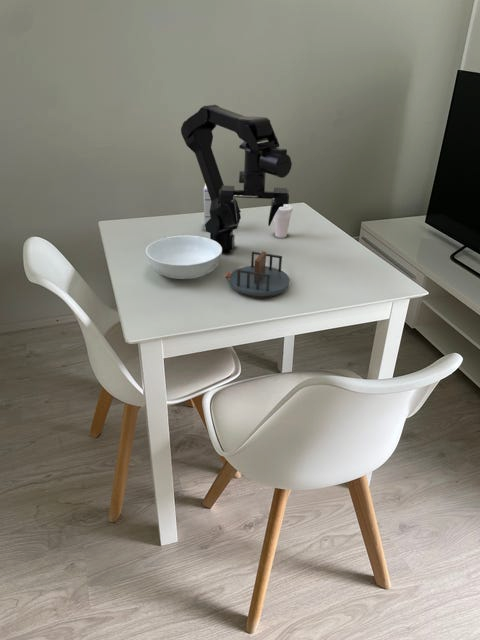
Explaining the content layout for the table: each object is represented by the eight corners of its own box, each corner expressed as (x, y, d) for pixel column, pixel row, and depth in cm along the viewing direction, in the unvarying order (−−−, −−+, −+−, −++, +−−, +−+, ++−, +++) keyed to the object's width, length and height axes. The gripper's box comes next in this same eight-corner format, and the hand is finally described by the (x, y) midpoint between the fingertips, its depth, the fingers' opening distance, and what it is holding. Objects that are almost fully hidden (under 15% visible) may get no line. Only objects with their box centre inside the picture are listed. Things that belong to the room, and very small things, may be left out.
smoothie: (294, 234, 171) (297, 192, 164) (284, 240, 166) (287, 198, 159) (277, 230, 174) (279, 189, 167) (267, 236, 169) (269, 194, 162)
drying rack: (295, 274, 143) (297, 249, 139) (280, 300, 130) (282, 273, 126) (236, 264, 147) (237, 239, 144) (216, 288, 134) (216, 262, 130)
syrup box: (221, 231, 172) (222, 188, 164) (203, 231, 172) (203, 187, 164) (222, 225, 177) (222, 183, 169) (205, 224, 177) (204, 182, 169)
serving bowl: (229, 260, 153) (229, 238, 149) (211, 292, 135) (211, 268, 132) (161, 252, 156) (160, 231, 153) (135, 283, 139) (133, 260, 135)
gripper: (289, 162, 144) (284, 215, 152) (221, 159, 144) (221, 213, 152) (291, 173, 134) (286, 230, 142) (218, 170, 134) (218, 227, 143)
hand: (252, 224), depth 145 cm, fingers open, 9 cm apart
